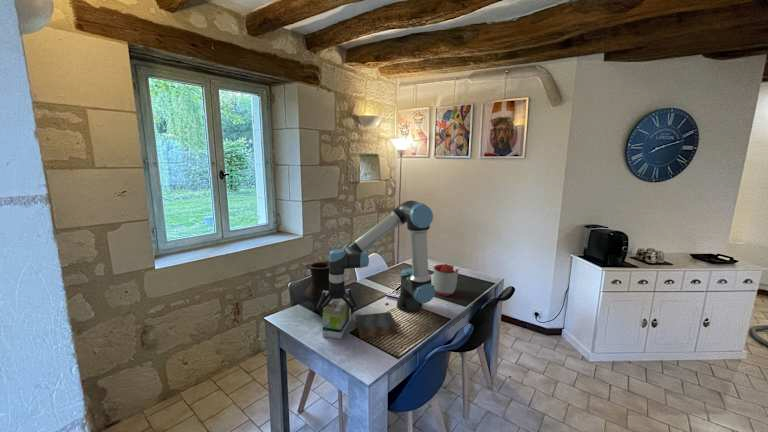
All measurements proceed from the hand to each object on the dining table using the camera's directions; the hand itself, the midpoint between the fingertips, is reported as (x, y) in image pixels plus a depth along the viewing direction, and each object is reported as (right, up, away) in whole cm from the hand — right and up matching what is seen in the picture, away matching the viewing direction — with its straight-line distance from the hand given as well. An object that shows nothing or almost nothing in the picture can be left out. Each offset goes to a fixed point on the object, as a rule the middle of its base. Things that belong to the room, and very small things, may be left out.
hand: (336, 320), depth 161 cm
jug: (-11, -1, +23) cm, 26 cm away
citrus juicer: (+65, +2, +49) cm, 81 cm away
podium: (+20, -5, +4) cm, 21 cm away
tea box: (0, -5, +1) cm, 5 cm away
